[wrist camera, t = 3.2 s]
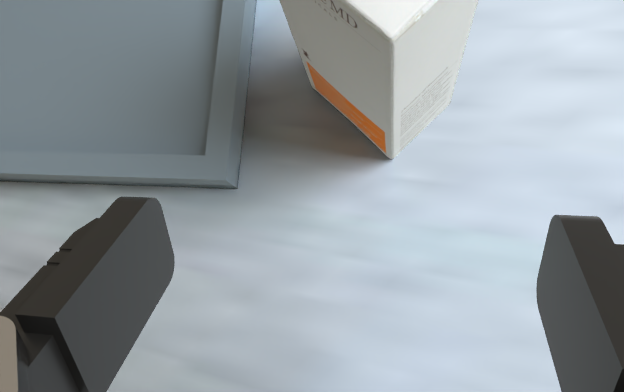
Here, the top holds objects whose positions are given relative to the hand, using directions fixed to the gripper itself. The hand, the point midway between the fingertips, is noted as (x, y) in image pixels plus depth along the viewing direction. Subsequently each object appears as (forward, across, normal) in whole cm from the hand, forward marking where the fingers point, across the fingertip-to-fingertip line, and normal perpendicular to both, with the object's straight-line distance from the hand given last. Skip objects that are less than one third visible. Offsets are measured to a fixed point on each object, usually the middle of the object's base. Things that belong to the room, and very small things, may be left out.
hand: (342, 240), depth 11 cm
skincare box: (+16, 0, +4) cm, 17 cm away
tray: (+18, +17, +1) cm, 25 cm away
